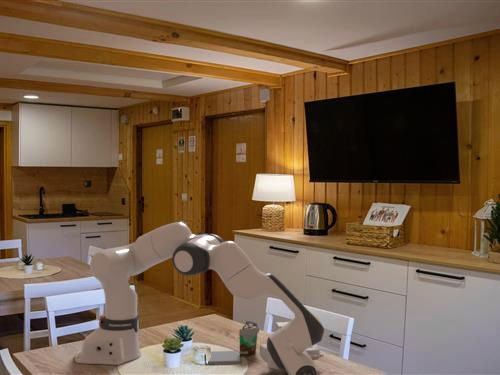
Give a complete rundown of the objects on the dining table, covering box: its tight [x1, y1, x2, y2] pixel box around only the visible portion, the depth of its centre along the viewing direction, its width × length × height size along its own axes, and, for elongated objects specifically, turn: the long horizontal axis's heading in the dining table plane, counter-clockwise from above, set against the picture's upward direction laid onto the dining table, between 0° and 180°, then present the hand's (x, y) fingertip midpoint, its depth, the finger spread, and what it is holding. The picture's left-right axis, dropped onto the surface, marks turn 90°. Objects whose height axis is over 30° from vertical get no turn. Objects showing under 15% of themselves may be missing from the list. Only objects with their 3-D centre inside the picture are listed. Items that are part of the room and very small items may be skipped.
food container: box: [238, 320, 260, 357], centre depth 189 cm, size 12×6×10 cm, turn 168°
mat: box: [207, 350, 242, 365], centre depth 181 cm, size 12×10×1 cm
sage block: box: [275, 321, 290, 339], centre depth 184 cm, size 5×5×12 cm
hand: (285, 343), depth 180 cm, fingers open, 8 cm apart
